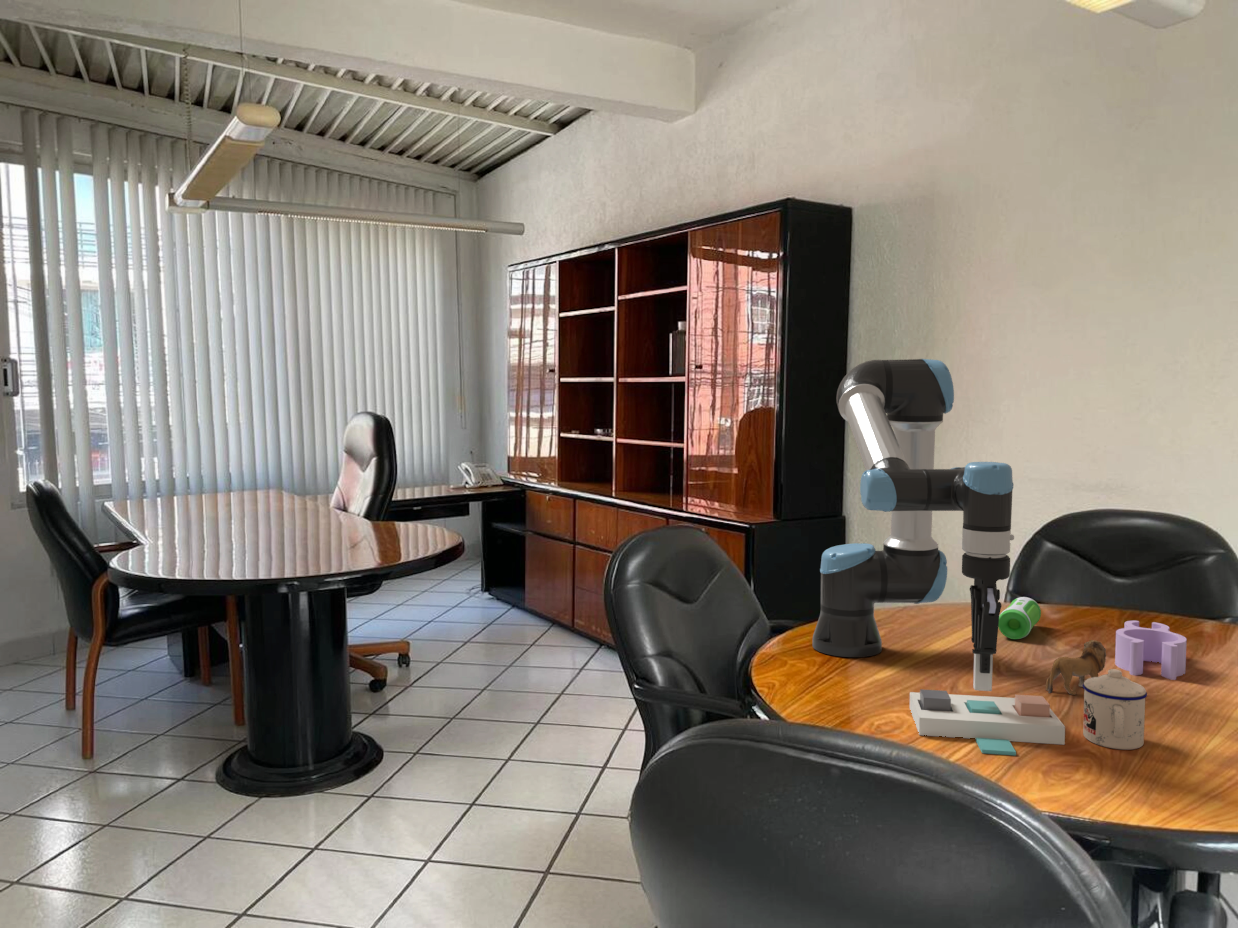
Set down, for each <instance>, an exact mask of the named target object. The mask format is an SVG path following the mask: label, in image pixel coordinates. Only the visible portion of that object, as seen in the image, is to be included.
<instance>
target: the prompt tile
mask: <svg viewBox="0 0 1238 928" xmlns="http://www.w3.org/2000/svg"><path fill="white" fill-rule="evenodd" d="M975 742H976V744H977V747H978V748H979V751H981V753H982V754H989V755H1002V756H1014V757H1015V756H1017V751H1016V749H1015V748H1014V746H1013V745H1012V743H1011V741H1009V740H1006V739H990V738H976V739H975Z"/></svg>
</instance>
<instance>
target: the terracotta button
mask: <svg viewBox="0 0 1238 928" xmlns="http://www.w3.org/2000/svg"><path fill="white" fill-rule="evenodd" d="M1014 698H1015V710H1016V712H1017V713H1018V715H1019V716H1033V717H1050V709H1051V707H1050V706H1051V705H1050V703H1049V702H1048V701H1047V700H1046V698H1045V697H1044V696H1043V695H1030V694H1028V695H1026V694H1014Z"/></svg>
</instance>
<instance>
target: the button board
mask: <svg viewBox="0 0 1238 928" xmlns="http://www.w3.org/2000/svg"><path fill="white" fill-rule="evenodd" d="M948 695H949V697H950V699H951V712H950V711H933V710H921V708H920V692H914V691H909V710H911V711H910V713H912V714H911V716H912V719H913V721H915V722H914V724H916V725H915V727H916V730H917V733H918V732H919V733H918V735H919V736H924V735H925V736H926V735H927V736H926V737H939V736H942V737H943V738H955V737H963V738H962V739H970V738H975V739H974V740H976V738H990V739H1006V740H1009V741H1010V742H1017V743H1018V742H1021V743H1034V744H1048V745H1049V744H1050V745H1063V746H1064V745H1065V744H1066V742H1065V741H1066V740H1065V739H1066V737H1065V736H1066V726H1065V725H1064V724H1063V722H1062V721H1061V720H1060V719H1059V717H1058V716H1057V715H1056V714H1055V712H1054V711H1053V709H1051V708H1050V717H1033V716H1019V715H1018V713H1017V712H1016V710H1015V697H1005V696H987V695H986V696H985V695H968V694H951V693H948ZM967 700H976V701H994V702H995V704H996V706H997V707H998V709H999V710H1000V714H983V713H970V712H969V710H968V709H967ZM945 736H946V737H945Z"/></svg>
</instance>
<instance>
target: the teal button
mask: <svg viewBox="0 0 1238 928" xmlns="http://www.w3.org/2000/svg"><path fill="white" fill-rule="evenodd" d="M967 709H968V710H969V712H970V713H983V714H1000V710H999V709H998V707H997V706H996V704H995V702H994V701H976V700H967Z"/></svg>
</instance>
